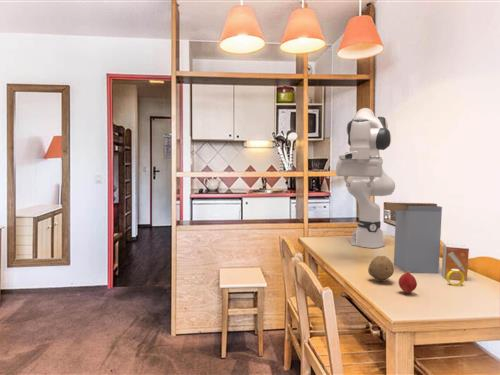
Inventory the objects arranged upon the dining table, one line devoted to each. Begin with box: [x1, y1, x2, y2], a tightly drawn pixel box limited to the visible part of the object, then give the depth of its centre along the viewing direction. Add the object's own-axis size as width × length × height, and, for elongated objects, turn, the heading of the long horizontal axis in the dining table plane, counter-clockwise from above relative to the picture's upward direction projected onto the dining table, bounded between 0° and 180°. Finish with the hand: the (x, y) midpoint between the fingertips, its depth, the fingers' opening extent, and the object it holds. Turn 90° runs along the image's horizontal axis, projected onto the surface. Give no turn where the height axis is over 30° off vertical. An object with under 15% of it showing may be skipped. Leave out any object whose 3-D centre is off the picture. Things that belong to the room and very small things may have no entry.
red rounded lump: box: [398, 271, 418, 294], centre depth 129 cm, size 6×6×8 cm
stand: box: [393, 205, 443, 274], centre depth 159 cm, size 12×14×28 cm
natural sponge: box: [367, 255, 395, 282], centre depth 141 cm, size 9×9×10 cm
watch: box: [446, 269, 464, 286], centre depth 139 cm, size 6×3×6 cm, turn 87°
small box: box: [441, 243, 470, 282], centre depth 148 cm, size 8×6×13 cm
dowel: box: [383, 202, 438, 211], centre depth 156 cm, size 3×21×3 cm, turn 90°
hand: (358, 186), depth 164 cm, fingers open, 8 cm apart
